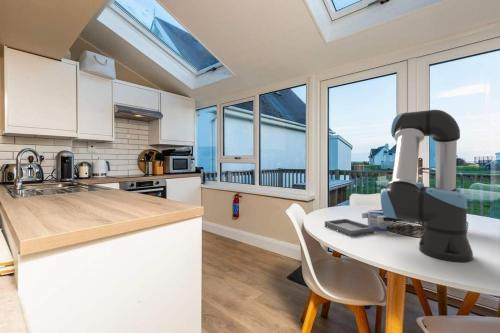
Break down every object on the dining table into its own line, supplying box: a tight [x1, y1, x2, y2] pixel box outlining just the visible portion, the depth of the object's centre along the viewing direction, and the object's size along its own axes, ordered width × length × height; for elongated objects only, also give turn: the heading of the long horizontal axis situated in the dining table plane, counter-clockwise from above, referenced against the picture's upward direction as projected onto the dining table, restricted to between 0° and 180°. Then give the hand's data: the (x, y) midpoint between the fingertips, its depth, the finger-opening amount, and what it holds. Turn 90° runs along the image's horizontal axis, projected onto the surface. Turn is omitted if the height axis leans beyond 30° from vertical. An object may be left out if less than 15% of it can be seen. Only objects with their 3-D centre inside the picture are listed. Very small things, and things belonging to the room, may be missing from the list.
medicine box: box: [367, 210, 388, 231], centre depth 118 cm, size 8×4×9 cm, turn 73°
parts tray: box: [324, 218, 375, 237], centre depth 118 cm, size 18×14×2 cm
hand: (369, 217), depth 116 cm, fingers closed on medicine box, 8 cm apart
